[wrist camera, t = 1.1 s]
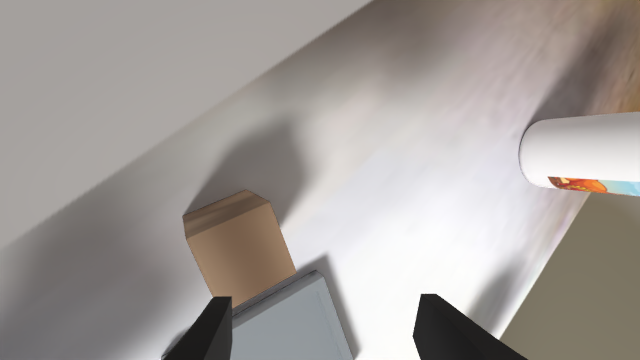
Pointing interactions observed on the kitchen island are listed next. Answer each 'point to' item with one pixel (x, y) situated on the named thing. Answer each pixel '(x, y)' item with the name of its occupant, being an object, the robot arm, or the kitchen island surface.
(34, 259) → the kitchen island surface
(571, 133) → the milk bottle
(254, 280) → the walnut block
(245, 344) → the grey tray
